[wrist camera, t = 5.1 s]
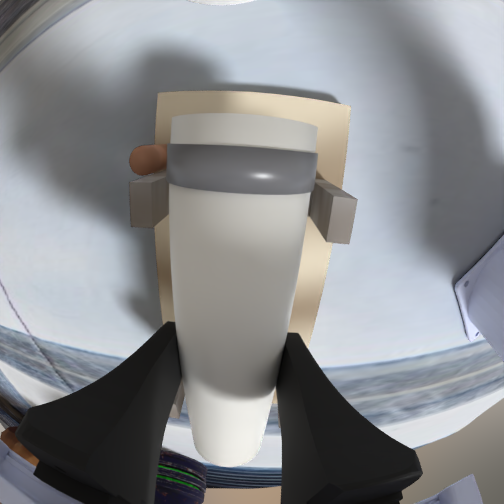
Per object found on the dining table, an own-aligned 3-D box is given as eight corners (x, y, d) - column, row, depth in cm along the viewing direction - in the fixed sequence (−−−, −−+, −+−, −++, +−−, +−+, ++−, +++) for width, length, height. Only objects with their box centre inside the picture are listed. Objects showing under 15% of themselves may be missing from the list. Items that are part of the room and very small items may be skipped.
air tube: (263, 416, 15) (261, 471, 11) (199, 408, 15) (186, 461, 11) (308, 131, 9) (337, 124, 5) (192, 123, 9) (142, 114, 5)
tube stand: (162, 95, 11) (109, 74, 6) (344, 108, 11) (394, 91, 6) (176, 384, 19) (160, 439, 14) (290, 394, 19) (295, 452, 14)
